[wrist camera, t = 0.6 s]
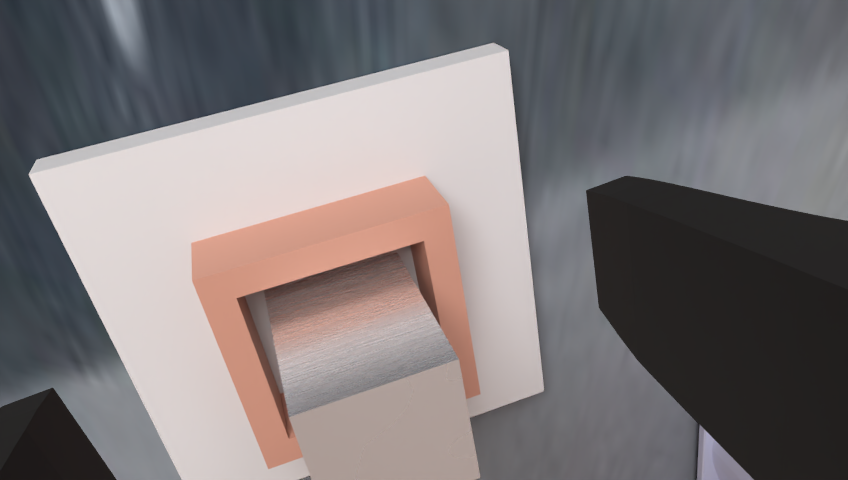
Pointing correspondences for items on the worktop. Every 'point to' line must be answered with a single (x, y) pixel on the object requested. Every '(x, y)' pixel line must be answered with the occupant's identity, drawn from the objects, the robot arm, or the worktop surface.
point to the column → (370, 376)
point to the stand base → (301, 243)
